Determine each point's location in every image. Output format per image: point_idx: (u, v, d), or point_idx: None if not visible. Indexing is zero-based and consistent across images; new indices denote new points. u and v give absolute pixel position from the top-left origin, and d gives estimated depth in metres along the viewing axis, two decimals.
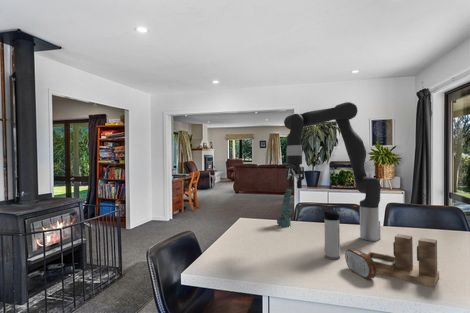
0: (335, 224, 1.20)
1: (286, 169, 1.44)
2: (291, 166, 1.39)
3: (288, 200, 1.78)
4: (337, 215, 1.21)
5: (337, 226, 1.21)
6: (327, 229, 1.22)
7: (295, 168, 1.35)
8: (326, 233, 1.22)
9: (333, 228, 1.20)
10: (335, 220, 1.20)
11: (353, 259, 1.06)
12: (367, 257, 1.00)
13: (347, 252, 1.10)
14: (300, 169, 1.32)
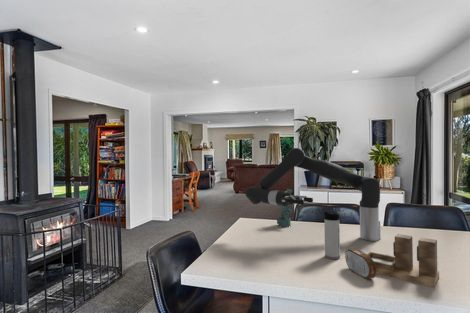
0: (335, 224, 1.20)
1: None
2: None
3: None
4: (337, 215, 1.21)
5: (337, 226, 1.21)
6: (327, 229, 1.22)
7: None
8: (326, 233, 1.22)
9: (333, 228, 1.20)
10: (335, 220, 1.20)
11: (353, 259, 1.06)
12: (367, 257, 1.00)
13: (347, 252, 1.10)
14: (283, 202, 1.32)
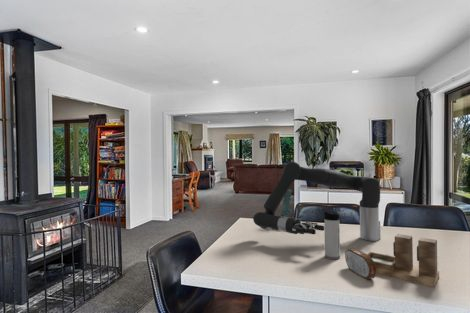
0: (335, 224, 1.20)
1: (308, 227, 1.38)
2: None
3: (288, 200, 1.78)
4: (337, 215, 1.21)
5: (337, 226, 1.21)
6: (327, 229, 1.22)
7: None
8: (326, 233, 1.22)
9: (333, 228, 1.20)
10: (335, 220, 1.20)
11: (353, 259, 1.06)
12: (367, 257, 1.00)
13: (347, 252, 1.10)
14: (294, 231, 1.28)
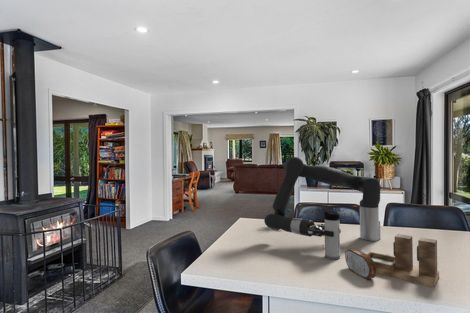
0: (335, 224, 1.20)
1: (323, 229, 1.32)
2: None
3: None
4: (337, 215, 1.21)
5: (337, 226, 1.21)
6: (327, 229, 1.21)
7: None
8: None
9: (333, 228, 1.20)
10: (335, 220, 1.20)
11: (353, 259, 1.06)
12: (367, 257, 1.00)
13: (347, 252, 1.10)
14: (310, 233, 1.23)
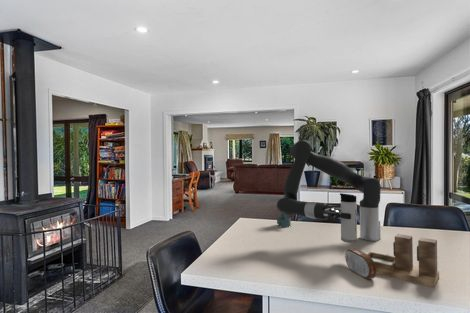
0: (352, 206, 1.15)
1: None
2: None
3: None
4: (354, 197, 1.16)
5: (354, 208, 1.16)
6: (344, 211, 1.17)
7: None
8: None
9: (350, 210, 1.15)
10: (352, 202, 1.15)
11: (353, 259, 1.06)
12: (367, 257, 1.00)
13: (347, 252, 1.10)
14: (326, 216, 1.18)
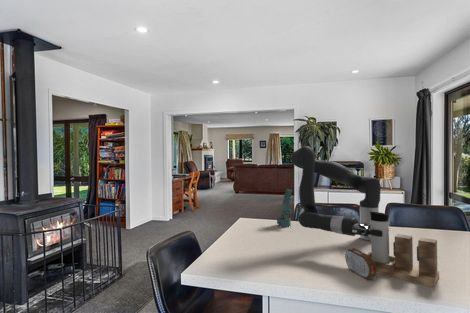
0: (384, 226, 1.07)
1: None
2: None
3: (288, 200, 1.78)
4: (386, 215, 1.08)
5: (387, 228, 1.07)
6: None
7: None
8: (374, 236, 1.09)
9: (382, 230, 1.07)
10: (384, 221, 1.07)
11: (353, 259, 1.06)
12: (367, 257, 1.00)
13: (347, 252, 1.10)
14: (355, 232, 1.10)
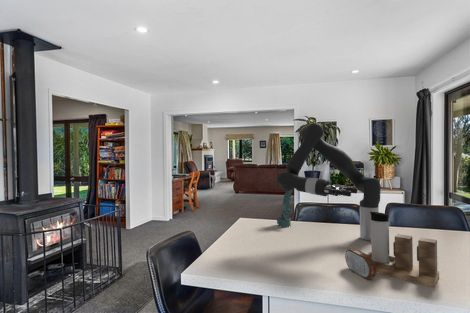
0: (385, 226, 1.07)
1: None
2: None
3: (288, 200, 1.78)
4: (387, 216, 1.08)
5: (387, 228, 1.07)
6: (375, 231, 1.08)
7: None
8: (374, 236, 1.09)
9: (382, 230, 1.07)
10: (385, 221, 1.07)
11: (353, 259, 1.06)
12: (367, 257, 1.00)
13: (347, 252, 1.10)
14: (326, 192, 1.19)
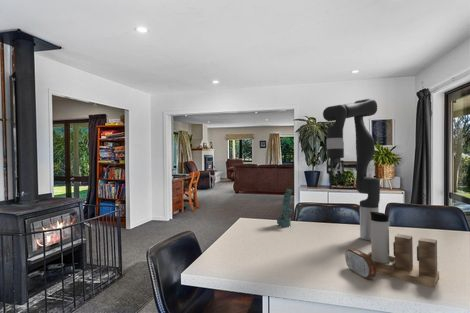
0: (385, 226, 1.07)
1: None
2: None
3: (288, 200, 1.78)
4: (387, 216, 1.07)
5: (387, 228, 1.07)
6: (375, 231, 1.08)
7: None
8: (374, 236, 1.09)
9: (382, 230, 1.07)
10: (385, 221, 1.07)
11: (353, 259, 1.06)
12: (367, 257, 1.00)
13: (347, 252, 1.10)
14: (327, 163, 1.27)
